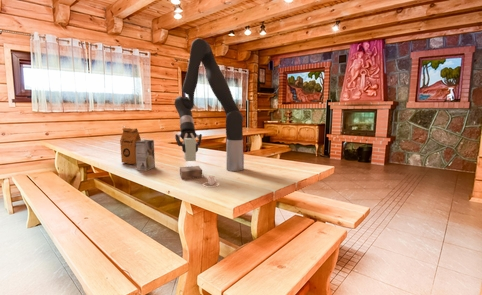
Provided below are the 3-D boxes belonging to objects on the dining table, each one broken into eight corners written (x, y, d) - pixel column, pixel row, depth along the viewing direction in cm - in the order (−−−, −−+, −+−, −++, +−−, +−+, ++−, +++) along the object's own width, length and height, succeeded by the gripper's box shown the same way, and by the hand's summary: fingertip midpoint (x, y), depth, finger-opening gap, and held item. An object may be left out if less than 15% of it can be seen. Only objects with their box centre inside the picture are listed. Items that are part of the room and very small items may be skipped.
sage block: (194, 158, 138) (194, 137, 136) (195, 160, 133) (195, 139, 132) (184, 159, 136) (184, 138, 135) (185, 161, 132) (185, 139, 130)
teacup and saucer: (211, 181, 129) (211, 173, 128) (224, 184, 124) (224, 175, 124) (198, 185, 122) (198, 177, 121) (211, 189, 117) (211, 180, 117)
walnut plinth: (198, 173, 143) (198, 165, 142) (202, 177, 133) (202, 170, 133) (179, 174, 139) (179, 167, 139) (182, 179, 130) (181, 171, 129)
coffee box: (145, 166, 157) (144, 139, 154) (155, 167, 156) (154, 140, 153) (136, 170, 148) (134, 141, 145) (146, 170, 147) (145, 142, 144)
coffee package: (133, 165, 158) (131, 129, 155) (119, 163, 163) (116, 128, 160) (146, 162, 167) (144, 127, 163) (132, 160, 172) (130, 127, 169)
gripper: (173, 121, 137) (176, 147, 127) (201, 121, 141) (205, 146, 132) (173, 130, 142) (175, 156, 133) (199, 130, 147) (203, 155, 138)
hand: (190, 151), depth 133 cm, fingers closed on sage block, 5 cm apart
